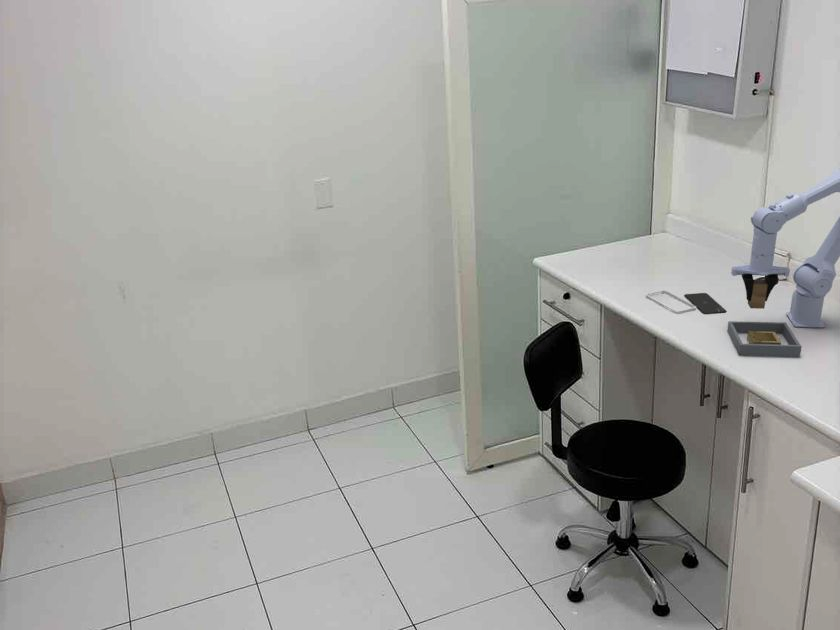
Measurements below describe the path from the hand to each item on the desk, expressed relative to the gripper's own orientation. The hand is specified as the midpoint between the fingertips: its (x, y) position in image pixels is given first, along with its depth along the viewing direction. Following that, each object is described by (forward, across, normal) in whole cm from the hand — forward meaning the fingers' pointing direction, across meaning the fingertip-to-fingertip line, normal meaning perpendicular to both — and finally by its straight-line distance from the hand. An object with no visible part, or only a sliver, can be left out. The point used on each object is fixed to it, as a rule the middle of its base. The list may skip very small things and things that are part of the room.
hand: (756, 299), depth 233 cm
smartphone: (+9, -10, +16) cm, 21 cm away
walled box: (+8, 0, -11) cm, 14 cm away
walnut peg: (+2, 0, 0) cm, 2 cm away
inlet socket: (+8, 0, -12) cm, 14 cm away
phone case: (+9, -20, +16) cm, 27 cm away
